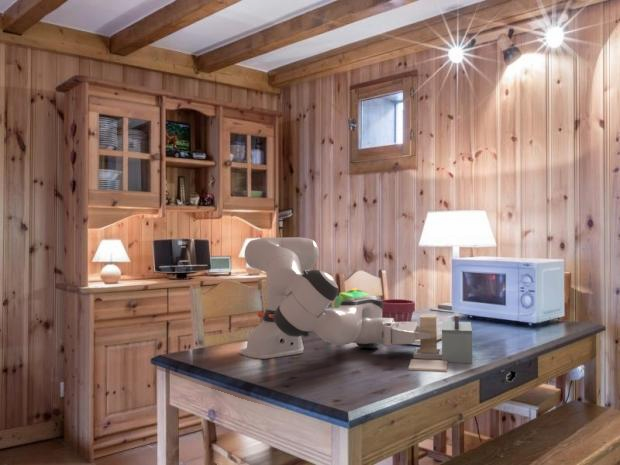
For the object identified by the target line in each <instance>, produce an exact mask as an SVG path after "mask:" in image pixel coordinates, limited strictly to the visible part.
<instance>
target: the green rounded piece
mask: <svg viewBox="0 0 620 465" xmlns="http://www.w3.org/2000/svg"><path fill="white" fill-rule="evenodd" d="M338 294H339V295H337V296H336V298H335V299H334V304H333V305H334V306H333V308H338V307H339V306H340V304H341V302H342V301H344V300H347V299H352V298H358V297H361V296H364V295H370V294H369V293H368V292H366V291H363V290H359V289H358V288H357V287H353V288H350V289H349V290H346V291H342V292H338Z"/></svg>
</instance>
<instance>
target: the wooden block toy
mask: <svg viewBox="0 0 620 465" xmlns="http://www.w3.org/2000/svg"><path fill="white" fill-rule="evenodd" d="M459 318H460V317H459V310H454V321H449V320H448V321H447V320H446V321H445V320H444V321H442V326H441V348H439V347H437V354H429V353H420V347H414V351H413V359H419V360H442V361H447V363H455V364H458V363H459V364H473V329H472V323H471V321H460V320H459Z"/></svg>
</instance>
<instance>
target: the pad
mask: <svg viewBox="0 0 620 465" xmlns="http://www.w3.org/2000/svg"><path fill="white" fill-rule="evenodd" d="M408 371H423V372H424V371H425V372H445V373H447V372H448V362H447V361H442V359H420V358H412V359H410V362H409V364H408Z"/></svg>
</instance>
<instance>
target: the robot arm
mask: <svg viewBox="0 0 620 465" xmlns="http://www.w3.org/2000/svg"><path fill="white" fill-rule="evenodd" d="M319 249H320V248H319V246H318V244H317V242H316V241H315V240H314V239H311V238H307V237H301V236H299V237H298V236H297V237H295V236H294V237H292V236H291V237H288V236H287V237H286V236H285V237H263V238H257V239H251V240H250V241H248V242H247V244H246V246H245V249H244V259H245V262H246V264H247V265H248V266H249V267H250V268H252V269H256V270H259V271H262V272H264V273H265V274H266V275H265V276H266V281H267V283H268V286H267V288H266V309H265V311H261V310H259V311H258V312H257V313H256V314H257V317H258V318H262V322H260V323H259V324H258V325H257V327H255V329H253V331H251V332H250V333H249V335H248V337H247V340H246V348H242V349H240V351H239V353H240V354H241V355H242V354H243V355H242V356H245V357H249V358H252V359H253V358H254V359H264V360H265V359H273V358H279V357H286V356H291V355H299V354H304V353H303V352H304V350H305V347H304V344H303V339H302V336H304V337H309V336H310V333H311V332H314V333H315V334H316V335H317V336H318V337H319V338H321V339H322V340H323V341H325V342H328V343H330V344H333V345H336V346H337V345H339V346H344V345H345V346H346V345H350V344H356V345H357V347H358V348H359V349H361V348H363V349H365V348H366V349H368V348H369V349H373V350H375V349H376V348H377V347H379V346H380V345H384V346H385V347H391V346H395V345H413V344H415V342H416V340H420V339H429V338H430V332H425V333H424V332H420V325H419V322H417V321H411V322H394V318H382V311H383V302H382V301H381V300H382V299H381V298H380V297H379V296H376V295H373V294H369V295H364V296H361V297H358V298H352V299H347V300H344V301H342V302H341V304H340V306H339V307H338V308H335V307H333V308H330V309H327V307H328V306H329V307H330V305H331V303H332V302H335V300H336V298H337V297H338V294H339V293H340V292H339V291H340V290H339V286H338V284H337V282H336V280H335V279H334V277H333V276H332V275H330V274H329V273H327V272H325V271H323V270H321V269H320V270H319V269H311V268H312V267H314V266H315V265H316V264H317V262H318V260H319V257H320V250H319ZM310 269H311V270H310Z"/></svg>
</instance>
